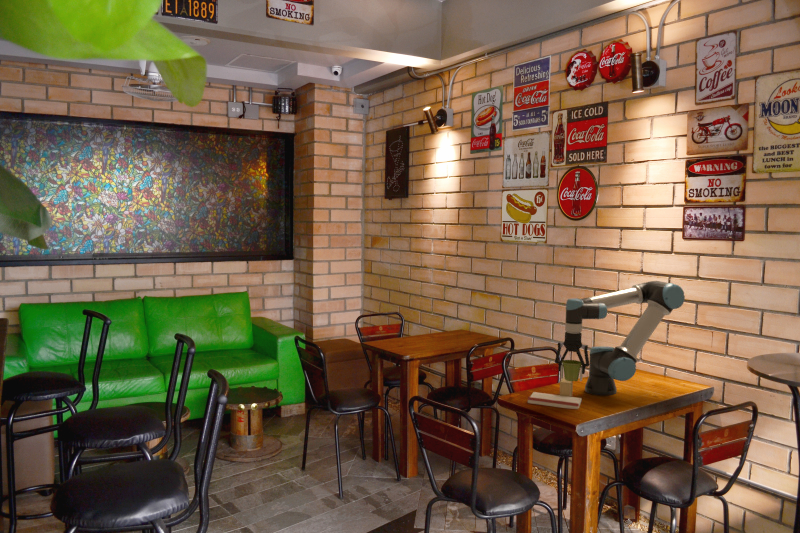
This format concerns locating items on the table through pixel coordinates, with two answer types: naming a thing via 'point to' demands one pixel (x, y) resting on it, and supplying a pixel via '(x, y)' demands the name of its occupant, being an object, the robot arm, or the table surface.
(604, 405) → the table surface
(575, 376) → the plant pot
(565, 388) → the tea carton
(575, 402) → the shelf board
